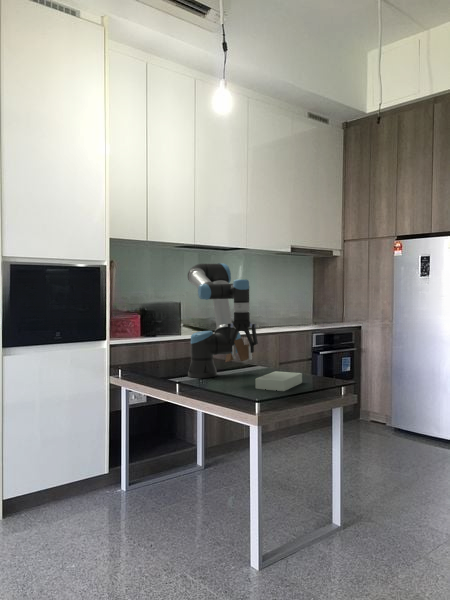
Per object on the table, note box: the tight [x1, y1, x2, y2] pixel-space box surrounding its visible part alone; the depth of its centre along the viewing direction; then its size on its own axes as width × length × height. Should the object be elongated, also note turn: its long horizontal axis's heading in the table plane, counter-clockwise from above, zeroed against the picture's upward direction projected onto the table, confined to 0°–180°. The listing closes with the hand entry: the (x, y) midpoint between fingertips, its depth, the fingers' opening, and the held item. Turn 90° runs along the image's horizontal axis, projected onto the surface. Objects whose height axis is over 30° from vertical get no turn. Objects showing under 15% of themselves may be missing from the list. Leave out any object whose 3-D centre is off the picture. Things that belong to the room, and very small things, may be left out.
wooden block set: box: [224, 337, 253, 363], centre depth 240 cm, size 18×9×10 cm, turn 146°
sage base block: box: [254, 370, 303, 392], centre depth 232 cm, size 14×22×5 cm, turn 150°
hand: (242, 359), depth 239 cm, fingers closed on wooden block set, 8 cm apart
